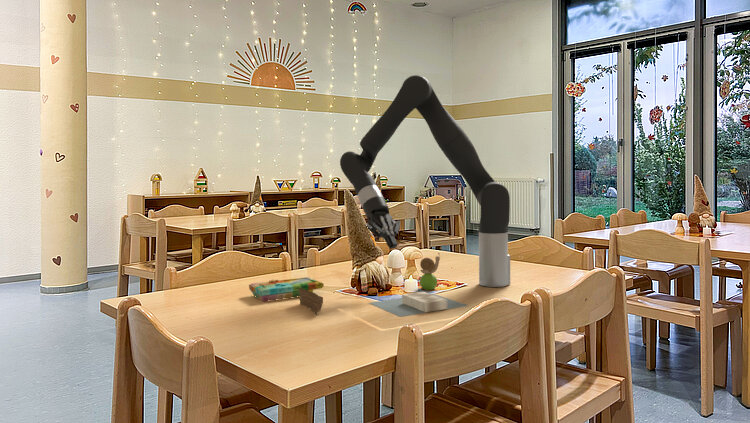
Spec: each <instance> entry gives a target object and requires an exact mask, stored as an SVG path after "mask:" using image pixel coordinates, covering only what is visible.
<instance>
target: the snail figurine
mask: <svg viewBox="0 0 750 423" xmlns="http://www.w3.org/2000/svg"><path fill="white" fill-rule="evenodd" d="M440 253H441V252H438V253H437V255H438V256H435V262H434V260H433V259H432V258H430V257H424V258H422V259H421V261H420V263H419V265H420V266H419V267H420V268H421V269H420V272H421V273H422V274H423V275H421V277H420V278H419V285H420V287H421V289H423V291H424V290H425V291H432V290H434V289H435V288H437V284H438V279H437V277H436V276H435V274H434V273H435V272H436V271H437V270H438V268H439V264H440V259H441V257H440Z"/></svg>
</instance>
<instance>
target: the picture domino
mask: <svg viewBox="0 0 750 423" xmlns="http://www.w3.org/2000/svg"><path fill="white" fill-rule="evenodd" d="M432 294H433V293H428V292H425V291H417V292H412V293H411V292H410V293H403V294H401V298H402V303H403V304H405V305H408V306H410V307H413V308H415V309H418V310H421V311H423V312H428V313H432V312H431V311H434V312H438V311H437V310H440V311H444V310H443V309H446V310H448V309H447V299H444V298H441V297H438V296H435V295H432Z"/></svg>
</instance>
